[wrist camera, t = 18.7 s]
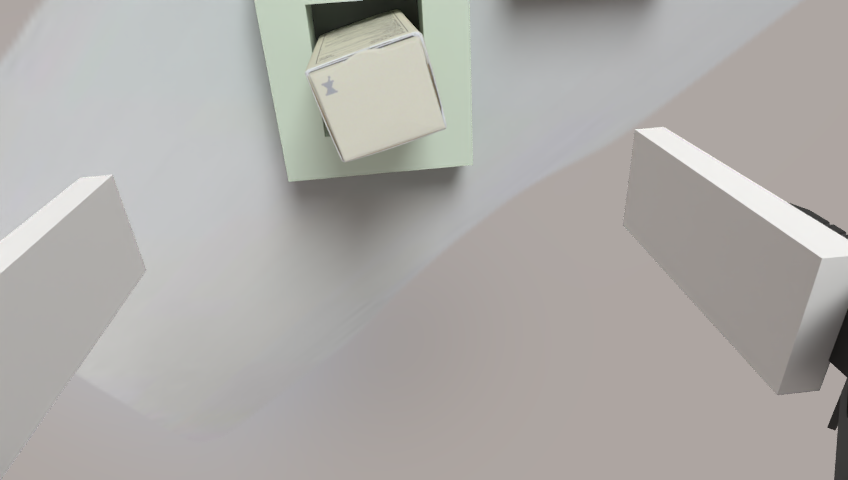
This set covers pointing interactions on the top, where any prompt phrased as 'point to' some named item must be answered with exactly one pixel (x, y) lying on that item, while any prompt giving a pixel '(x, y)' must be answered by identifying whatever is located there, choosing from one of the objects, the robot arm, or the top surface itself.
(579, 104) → the top surface
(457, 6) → the socket
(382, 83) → the box
